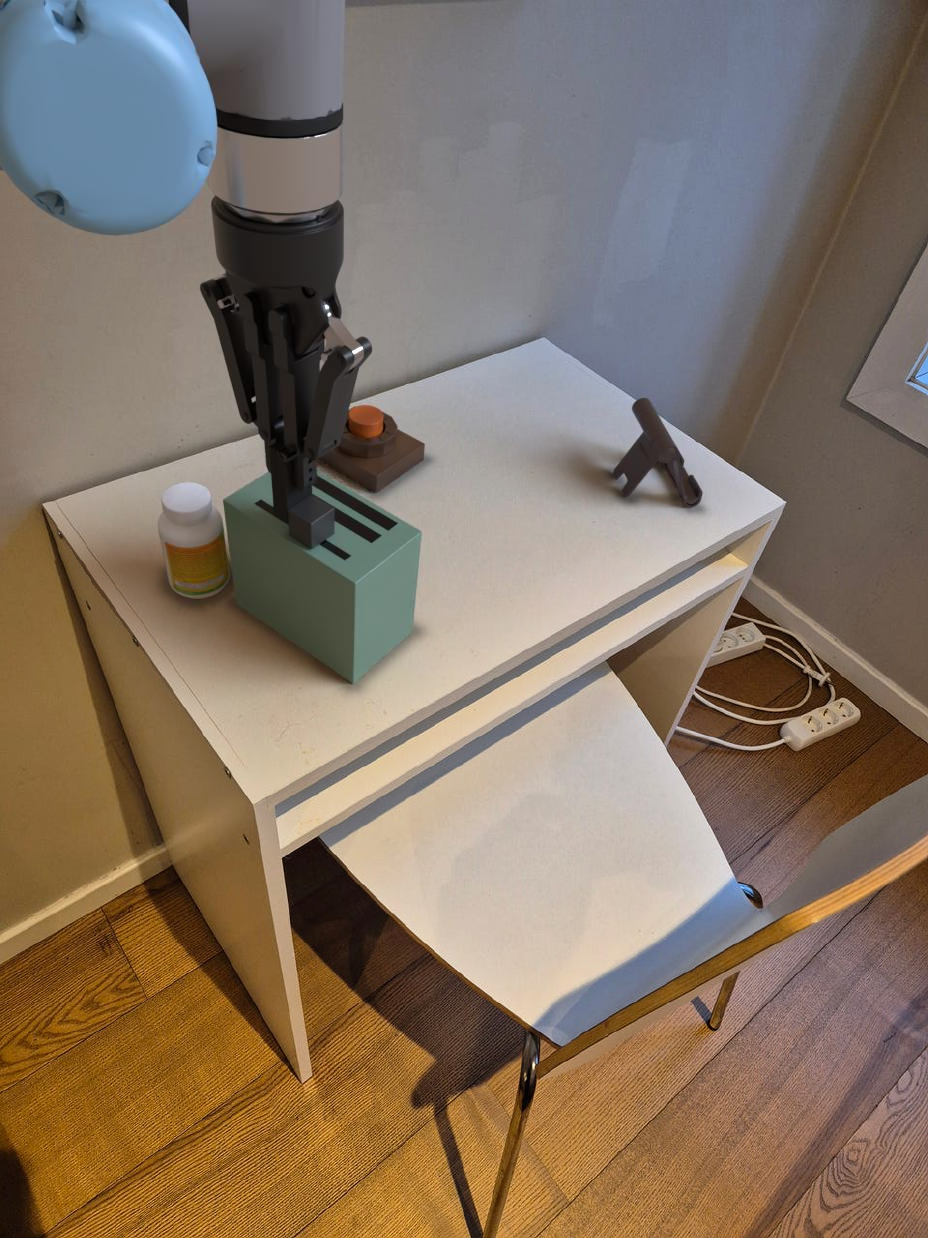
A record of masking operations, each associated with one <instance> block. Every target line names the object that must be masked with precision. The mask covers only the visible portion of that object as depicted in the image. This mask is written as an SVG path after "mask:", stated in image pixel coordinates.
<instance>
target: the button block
mask: <svg viewBox="0 0 928 1238" xmlns="http://www.w3.org/2000/svg"><path fill="white" fill-rule="evenodd" d="M356 406H357V405H355V406H353V407H351V408H349V410H348V414H347V418H346V422H345V426H344V430H343V434H342V438H341V442H340V444H339V446H337V447H335V448H334V449H332V450H331V451H329V452H328V453H326V454H324V455H323V456H321V457H320V458H318V459H317V461H319V462H321V463H323V464H325V465H326V466H328V467H330V468H331V469H333V470H335V471H337V472H338V473H340V474H342V475H344V476H345V477H347V478H349V479H351V480H352V481H354V482H355V483H357V484H359V485H361V486H363V487H364V488H366V489H368V490H370V491H371V492H373V493H375V494H377V493H379V492H380V491H382V490H383V489H384V488H386V487H387V486H389V485H390V484H392V483H393V482H394V481H396V480H397V479H399V478H400V477H402V476H403V475H404V474H406V473H408V472H409V471H410V470H411V469H413V468H414V467H416V466H417V465H419V464H420V463H422V462H423V461H424V459H425V448H426V447H425V446H426V443H424V442H422V441H420V440H419V439H417V438H415V437H413V436H411V435H410V434H408V433H406V432H404V431H402V430H400V429H399V428H398V424H397V423H396V421H395V419H394V418H393V416H392V415H390V414H388V413H386V412H384V411H382V413H383V431H382V433H381V434H380V435H379V436H376V437H370V438H365V437H359V436H356V435H354V434H352V433H351V432H350V431H349V412H350V410H351V409H352V408H354V407H356Z"/></svg>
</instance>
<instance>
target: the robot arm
mask: <svg viewBox="0 0 928 1238" xmlns="http://www.w3.org/2000/svg"><path fill="white" fill-rule="evenodd" d="M345 22H346V0H0V171H3V172H4V173H5V174H6V176H7V177H8V179H9V180H10V182H12V184H13V185H14V186H15V187H16V188H17V189H18V190H19V191H20V193H22V194H23V195H24V196H26V198H28V200H30V201H31V202H32V203H33V204H34V205H35V206H36V207H37V208H39V209H40V210H42V211H44V212H45V213H47V214H48V215H50V216H52V217H53V218H55V219H57V220H59V221H60V222H62V223H64V224H66V225H68V226H70V227H72V228H75V229H78V230H81V231H84V232H87V233H91V234H92V233H93V234H97V235H102V236H116V237H117V236H128V235H129V236H130V235H134V234H135V235H136V234H140V233H144V232H148V231H151V230H154V229H157V228H159V227H161V226H164V225H166V224H167V223H169V222H171V221H172V220H174V219H176V218H177V217H178V216H179V215H181V214H182V213H183V212H184V211H185V210H186V209H187V208H188V207H190V205H191V204H192V203H193V201H194V200H195V199H196V198H197V197H198V195H199V194H200V192H201V191H202V188H203V187H204V185H205V183H206V181H207V186H208V188H209V189H210V191H211V192H212V194H213V195H214V196H213V197H212V199H211V202H210V208H211V217H212V227H213V237H214V246H215V247H214V248H215V254H216V258H217V261H218V263H219V264H220V266H221V267H222V268H223V270H224V273H223V274H220V275H217V276H215V277H213V278H210V279H208V280H205V281H203V282H201V283H199V290H200V294H201V296H202V298H203V300H204V303H205V304H206V306H207V308H208V310H209V312H210V315H211V316H212V319H213V321H214V325H215V329H216V332H217V336H218V340H219V343H220V347H221V351H222V354H223V358H224V361H225V365H226V369H227V373H228V377H229V380H230V384H231V388H232V392H233V395H234V399H235V402H236V406H237V411H238V414H239V418H240V419H241V420H242V422H244V423H245V424H247V425H250V424H254V425H255V426H256V427H257V432H258V435H259V437H260V438H261V439H262V441H263V443H264V444H263V445H264V454H265V455H264V456H265V467H266V469H267V472H270V473H271V480H272V494H273V508H274V516H275V517H276V518H278V519H279V520H281V521H283V522H284V523H286V524H287V525H289V521H288V510H289V509H290V508H292V507H293V506H295V505H296V504H298V503H299V502H301V501H302V500H304V499H305V498H307V497H308V496H310V495H312V485H313V484H315V483H316V481H317V470H318V458H320V457H321V456H323V455H324V454H326V453H328V452H329V451H331V450H332V449H334V448H335V447H337V446H339V444H340V442H341V438H342V434H343V430H344V426H345V422H346V418H347V414H348V410H349V409H350V407H351V402H352V398H353V394H354V390H355V387H356V383H357V380H358V379H357V378H358V374H359V371H360V368H361V366H362V365H364V363H365V362H366V360H367V359H369V357H370V355H371V354H372V352H373V346H372V342H371V341H370V339H368V337H366V336H359V337H357V338H356V339H355V338H354V336H353V335H352V334H351V332H350V330H348V328H347V327H346V326H345V324H344V323H343V322H342V320H341V318H342V313H343V309H342V304H341V301H340V299H339V296H338V292H337V287H336V286H337V285H336V284H337V280H338V277H339V274H340V271H341V269H342V267H343V263H344V260H345V259H344V257H345V252H344V251H345V209H344V206H343V204H342V202H341V201H340V200H339V199H341V197H342V195H343V194H344V143H345V142H344V137H345V135H344V133H345V131H344V130H345V129H344V126H345V125H344V122H345V120H344V119H345V118H344V74H345V73H344V72H345V69H344V68H345V27H346V26H345V25H346V23H345ZM325 341H326V343H325ZM321 361H322V362H323V364H322V366H321ZM253 398H255V400H254V401H253V400H252V399H253Z"/></svg>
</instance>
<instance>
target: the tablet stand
mask: <svg viewBox="0 0 928 1238" xmlns="http://www.w3.org/2000/svg"><path fill="white" fill-rule="evenodd" d="M631 411H632V413H633V415H634V417H635V419H636V421H637V423H638V424H639V426H640V428H641V430H642V433H641V434H640V435H639V437H638V438H637V439H636V440H635V442H634V443H633V444H632V446H630V448H629V449H628V450H627V452H626V453H625V455H623V457H622V458H621V459H620V461H619V462H618V463H617V465H616V466H615V467H614V468H613V471H612V472H613V473H612V474H613V476H614V478H615V480H619V479H620V478H621V476H622V475H624V476H625V478H626V483H625V484H624V486H623V487H622V489H621V490H620V491H621V493H622V495H623V497H624V498H629V497H630V495H631V494H633V492H634V491H635V490H636V488H637V487H638V486H639V485H640V484H641V483H642V481H643V480H644V478H645V477H646V476H647V475H648V474H649V472H650V471H651V470H652V468H654V466H655V465H656V464H657V463H658V461H659V462H660V464H661V466H662V467H663V468H664V470H665V472H666V474H667V476H668V477H669V479H670V481H671V483H672V485H673V487H674V488H675V491H676V492H677V494H678V498H679V500H680V501H681V503H682V504H683V505H684V506H685V508H688V509H689V508H690V509H691V508H695V507H696V506H698V505H699V504H700V503H701V502H702V499H703V493H704V491H703V490H702V488H701V486H700V484H699V482H698V481H697V480H696V478H695V476H694V475H693V474H689V473H688V471H687V470H686V468H685V467H684V466H685V459H684V457H683V455H682V454H681V452H680V450H679V447H677V444H675V441H674V440H673V438H672V436H671V434H670V433H669V431H668V429H667V427H666V426H665V424H664V422H663V420H662V419H661V417H660V415H659V413H658V412H657V410H656V408H655V407H654V405H653V403H652V401H651V400H650V399H649V398H647V397H641V398H638V399H637V400H635V401H634V402H633V404H632V405H631Z"/></svg>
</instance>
